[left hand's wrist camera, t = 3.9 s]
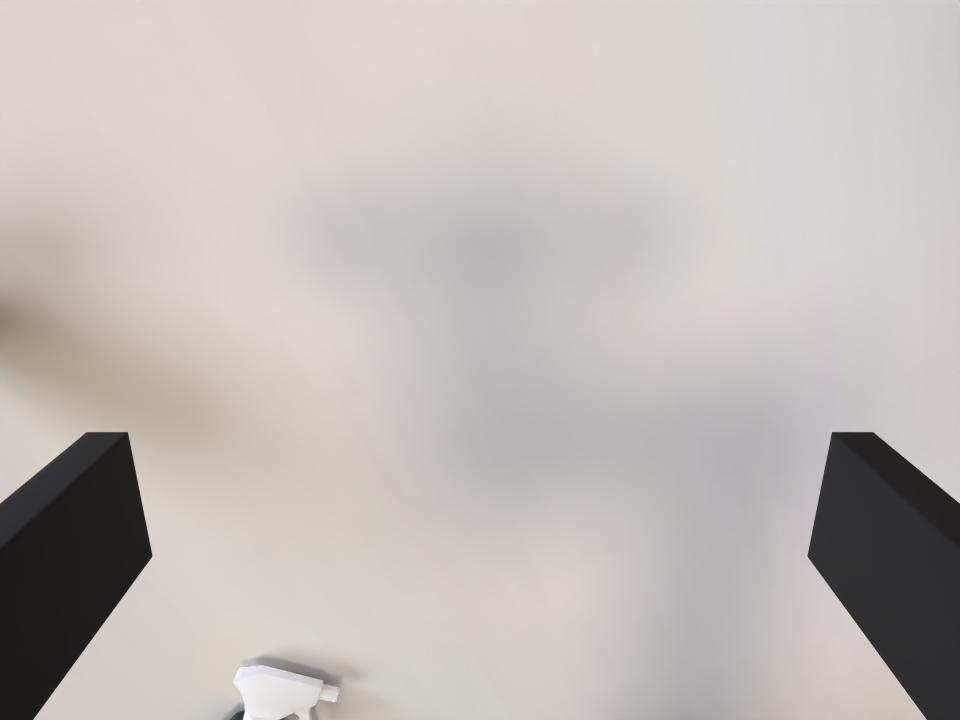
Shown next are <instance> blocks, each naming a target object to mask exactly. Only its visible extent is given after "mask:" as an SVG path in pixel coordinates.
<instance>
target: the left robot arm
mask: <svg viewBox="0 0 960 720" xmlns="http://www.w3.org/2000/svg"><path fill="white" fill-rule="evenodd" d="M151 558H152V551H151V546H150V541H149V536H148V531H147V526H146V521H145V516H144V511H143V506H142V501H141V496H140V491H139V486H138V481H137V476H136V471H135V466H134V461H133V456H132V451H131V446H130V440H129V435H128V432H87V433H85V434H84V435H83V436H82V437H80V438H79V439H78V440H77V441H76V442H74V443H73V444H72V445H71V446H70V447H68V448H67V449H66V450H65V451H64V452H62V453H61V454H60V455H59V456H57V457H56V458H55V459H54V460H53V461H51V462H50V463H49V464H48V465H47V466H45V467H44V468H43V469H42V470H40V471H39V472H38V473H37V474H36V475H34V476H33V477H32V478H31V479H30V480H28V481H27V482H26V483H25V484H23V485H22V486H21V487H20V488H19V489H17V490H16V491H15V492H14V493H13V494H11V495H10V496H9V497H8V498H7V499H5V500H4V501H3V502H2V503H0V720H33V719H34V718H35V716H36V715H37V714H38V712H39V711H40V710H41V708H42V707H43V705H44V704H45V703H46V701H47V700H48V699H49V697H50V696H51V695H52V693H53V692H54V690H55V689H56V688H57V686H58V685H59V684H60V682H61V681H62V679H63V678H64V677H65V675H66V674H67V673H68V671H69V670H70V669H71V667H72V666H73V664H74V663H75V662H76V660H77V659H78V658H79V656H80V655H81V653H82V652H83V651H84V649H85V648H86V647H87V645H88V644H89V643H90V641H91V640H92V638H93V637H94V636H95V634H96V633H97V632H98V630H99V629H100V627H101V626H102V625H103V623H104V622H105V621H106V619H107V618H108V617H109V615H110V614H111V612H112V611H113V610H114V608H115V607H116V606H117V604H118V603H119V601H120V600H121V599H122V597H123V596H124V595H125V593H126V592H127V591H128V589H129V588H130V586H131V585H132V584H133V582H134V581H135V580H136V578H137V577H138V575H139V574H140V573H141V571H142V570H143V569H144V567H145V566H146V565H147V563H148V562H149V560H150V559H151ZM808 558H809V559H810V560H811V562H812V563H813V565H814V566H815V567H816V569H817V570H818V571H819V573H820V574H821V575H822V577H823V578H824V580H825V581H826V582H827V584H828V585H829V586H830V588H831V589H832V591H833V592H834V593H835V595H836V596H837V597H838V599H839V600H840V601H841V603H842V604H843V606H844V607H845V608H846V610H847V611H848V612H849V614H850V615H851V617H852V618H853V619H854V621H855V622H856V623H857V625H858V626H859V627H860V629H861V630H862V632H863V633H864V634H865V636H866V637H867V638H868V640H869V641H870V643H871V644H872V645H873V647H874V648H875V649H876V651H877V652H878V653H879V655H880V656H881V658H882V659H883V660H884V662H885V663H886V664H887V666H888V667H889V669H890V670H891V671H892V673H893V674H894V675H895V677H896V678H897V679H898V681H899V682H900V684H901V685H902V686H903V688H904V689H905V690H906V692H907V693H908V695H909V696H910V697H911V699H912V700H913V701H914V703H915V704H916V705H917V707H918V708H919V710H920V711H921V712H922V714H923V715H924V716H925V718H926V719H927V720H960V503H958V502H957V501H956V500H955V499H953V498H952V497H951V496H950V495H949V494H947V493H946V492H945V491H944V490H943V489H941V488H940V487H939V486H938V485H937V484H935V483H934V482H933V481H932V480H930V479H929V478H928V477H927V476H926V475H924V474H923V473H922V472H921V471H920V470H918V469H917V468H916V467H915V466H913V465H912V464H911V463H910V462H909V461H907V460H906V459H905V458H904V457H903V456H901V455H900V454H899V453H898V452H896V451H895V450H894V449H893V448H892V447H890V446H889V445H888V444H887V443H886V442H884V441H883V440H882V439H881V438H880V437H878V436H877V435H876V434H875V433H873V432H832V435H831V440H830V445H829V451H828V456H827V461H826V466H825V471H824V476H823V481H822V486H821V491H820V496H819V501H818V506H817V511H816V516H815V521H814V526H813V531H812V536H811V541H810V546H809V551H808Z"/></svg>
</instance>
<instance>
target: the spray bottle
mask: <svg viewBox="0 0 960 720" xmlns="http://www.w3.org/2000/svg"><path fill="white" fill-rule="evenodd" d="M233 684H234V685H235V686H236V687H237V688H238V689H239V690H240V692H241V693H242V696H243V699H244V702H245V711H241V712H238V713H236V714H235V715H234V716H233V717H232V718H231V719H230V720H280V719H282V718H284V717H286V716H288V715H290V714H293V713H295V714H297V715H298V717H299V719H300V720H312V715H311V711H310V709H311V707H313V706H315V705H316V703H317V701H318V699H319V700H325V701H332V702H336V700H337V697H338V693H339V689H340V688H338V687H334V686H330V685H326V684H323V680H319V679H315V678H311V677H307V676H303V675H299V674H295V673H291V672H287V671H283V670H279V669H275V668H272V667H268V666H264V665H259V666H251V667H244V668H239V670H238V672H237V674H236V677H235V679H234V681H233Z"/></svg>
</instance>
